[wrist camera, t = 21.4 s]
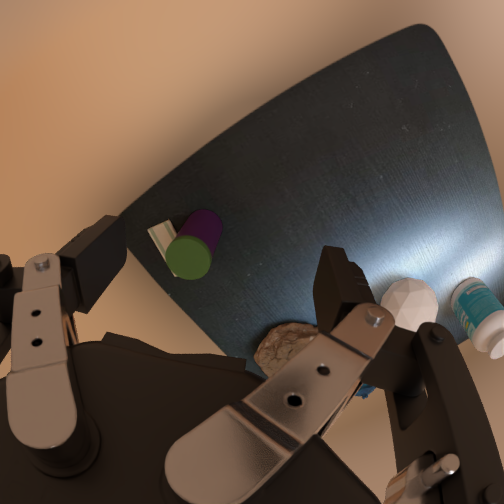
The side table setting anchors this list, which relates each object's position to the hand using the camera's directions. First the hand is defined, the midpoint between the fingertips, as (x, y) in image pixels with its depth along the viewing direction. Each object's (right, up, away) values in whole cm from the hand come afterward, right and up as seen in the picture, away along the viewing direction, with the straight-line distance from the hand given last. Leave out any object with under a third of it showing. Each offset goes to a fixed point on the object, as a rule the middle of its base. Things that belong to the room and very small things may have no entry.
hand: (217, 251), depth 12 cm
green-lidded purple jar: (-5, +3, +28) cm, 29 cm away
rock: (+8, -14, +37) cm, 40 cm away
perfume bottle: (+23, -7, +31) cm, 39 cm away
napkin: (-10, +1, +30) cm, 32 cm away
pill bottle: (+38, -7, +31) cm, 49 cm away
